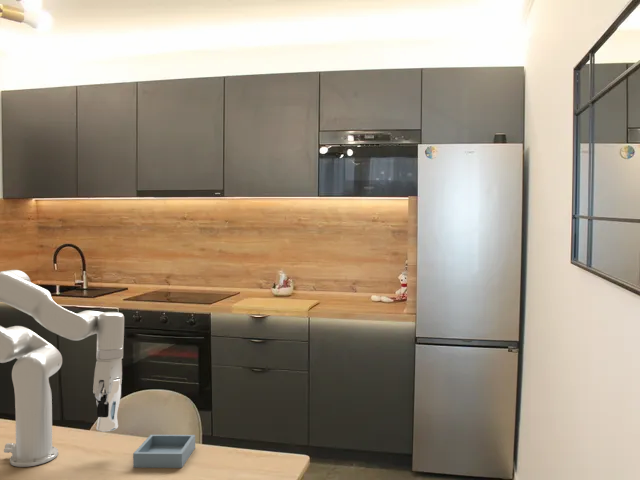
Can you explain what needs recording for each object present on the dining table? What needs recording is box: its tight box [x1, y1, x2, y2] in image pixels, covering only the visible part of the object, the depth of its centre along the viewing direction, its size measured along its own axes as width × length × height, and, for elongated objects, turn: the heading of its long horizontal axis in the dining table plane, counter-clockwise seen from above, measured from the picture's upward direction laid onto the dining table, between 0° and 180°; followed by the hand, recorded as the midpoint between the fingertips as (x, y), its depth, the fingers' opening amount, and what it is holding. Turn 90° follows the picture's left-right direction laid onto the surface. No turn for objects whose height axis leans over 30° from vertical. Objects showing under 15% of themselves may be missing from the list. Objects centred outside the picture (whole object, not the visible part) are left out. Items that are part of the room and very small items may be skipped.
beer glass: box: [96, 377, 122, 433], centre depth 156 cm, size 7×7×15 cm
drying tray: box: [132, 434, 196, 469], centre depth 155 cm, size 14×14×4 cm
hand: (107, 412), depth 156 cm, fingers closed on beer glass, 6 cm apart
